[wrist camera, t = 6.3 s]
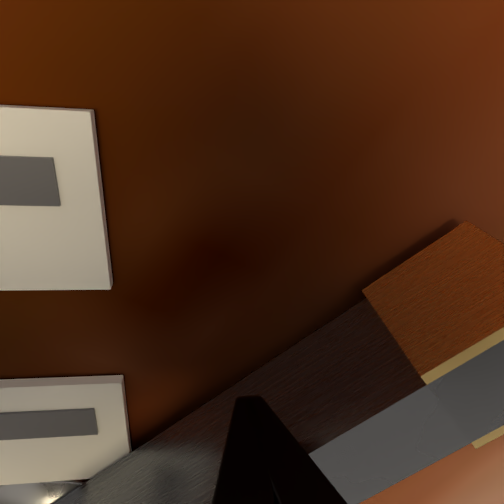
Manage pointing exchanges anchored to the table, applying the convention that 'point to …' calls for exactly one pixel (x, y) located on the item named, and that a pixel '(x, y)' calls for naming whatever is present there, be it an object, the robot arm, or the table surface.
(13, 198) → the label tile
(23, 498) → the pivot base
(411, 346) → the swing arm
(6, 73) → the table surface
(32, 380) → the label tile
